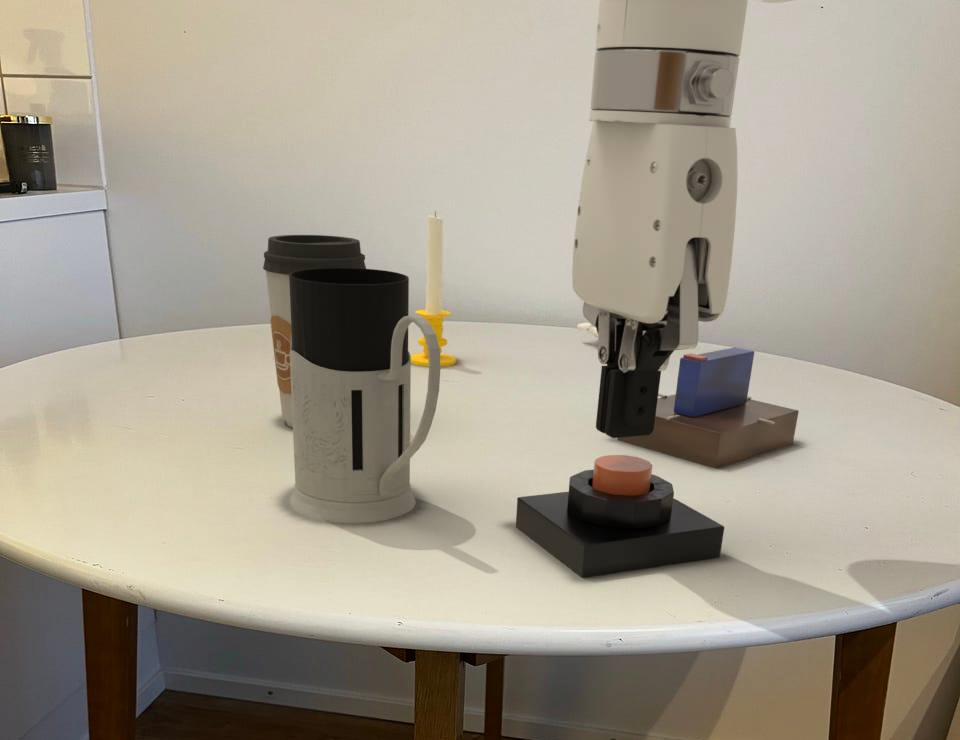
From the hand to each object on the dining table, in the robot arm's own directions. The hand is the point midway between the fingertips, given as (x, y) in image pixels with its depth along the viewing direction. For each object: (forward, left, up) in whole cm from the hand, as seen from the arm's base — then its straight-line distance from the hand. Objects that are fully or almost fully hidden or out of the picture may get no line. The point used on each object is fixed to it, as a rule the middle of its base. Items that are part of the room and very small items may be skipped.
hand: (624, 432), depth 62 cm
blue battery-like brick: (-20, -18, -4) cm, 27 cm away
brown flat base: (-20, -18, -7) cm, 28 cm away
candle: (-9, -54, -8) cm, 55 cm away
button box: (0, 0, -7) cm, 7 cm away
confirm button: (0, 0, -4) cm, 4 cm away
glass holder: (+13, -10, -8) cm, 18 cm away
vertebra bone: (-35, -58, -8) cm, 68 cm away
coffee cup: (+10, -33, -8) cm, 35 cm away
